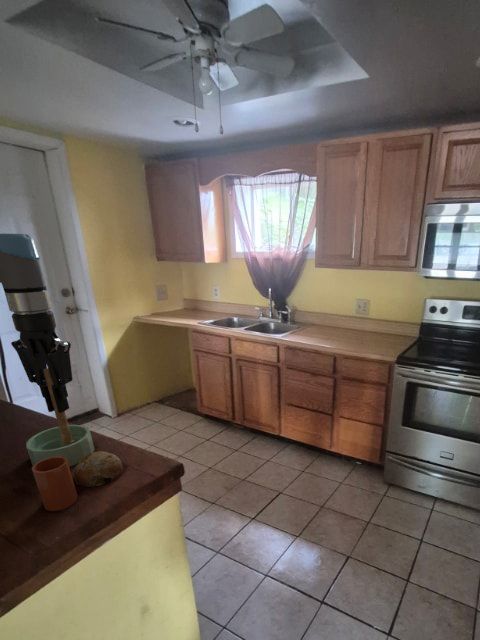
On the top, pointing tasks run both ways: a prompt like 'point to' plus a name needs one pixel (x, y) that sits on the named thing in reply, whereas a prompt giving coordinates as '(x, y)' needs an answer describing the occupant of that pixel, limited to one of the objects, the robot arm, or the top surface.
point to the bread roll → (97, 469)
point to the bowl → (60, 445)
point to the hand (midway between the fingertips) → (59, 409)
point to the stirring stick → (60, 416)
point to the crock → (55, 483)
